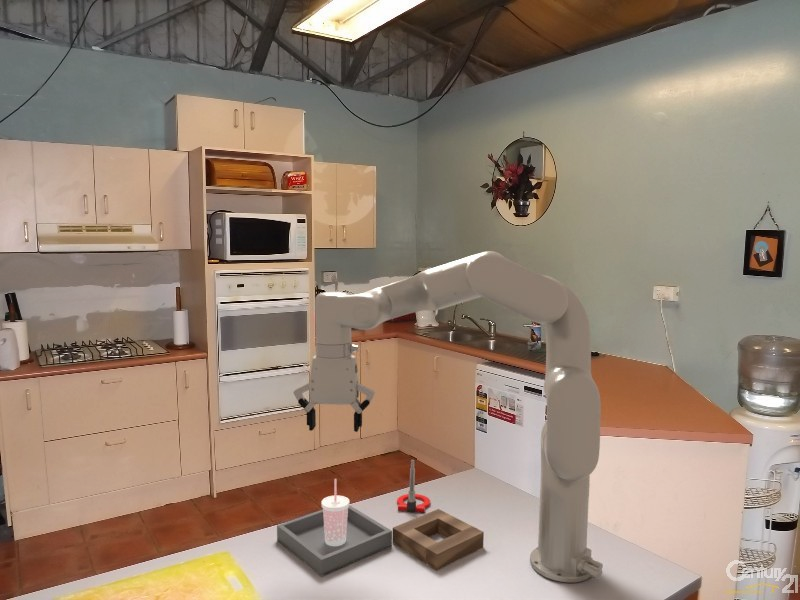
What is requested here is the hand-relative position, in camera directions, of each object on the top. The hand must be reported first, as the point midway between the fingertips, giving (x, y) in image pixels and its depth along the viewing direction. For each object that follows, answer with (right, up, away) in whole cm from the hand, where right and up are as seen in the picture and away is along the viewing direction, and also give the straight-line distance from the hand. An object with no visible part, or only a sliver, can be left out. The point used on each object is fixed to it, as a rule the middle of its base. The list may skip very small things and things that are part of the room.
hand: (334, 429), depth 124 cm
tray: (0, -26, +3) cm, 26 cm away
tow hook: (+17, -24, +22) cm, 37 cm away
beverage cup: (0, -25, +3) cm, 25 cm away
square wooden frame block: (+22, -26, +2) cm, 34 cm away
